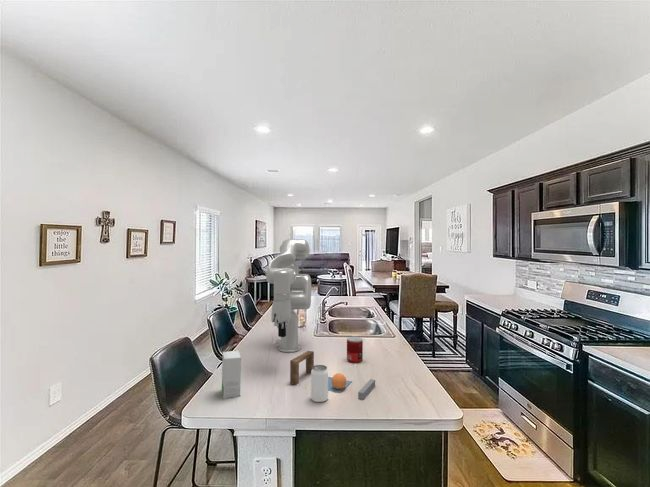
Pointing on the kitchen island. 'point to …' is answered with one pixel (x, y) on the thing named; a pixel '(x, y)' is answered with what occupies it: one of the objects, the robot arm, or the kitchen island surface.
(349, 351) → the canned food
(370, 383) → the stopper
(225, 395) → the skincare box
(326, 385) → the can
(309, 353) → the bridge
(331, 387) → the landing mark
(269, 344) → the kitchen island surface
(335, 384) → the ball
